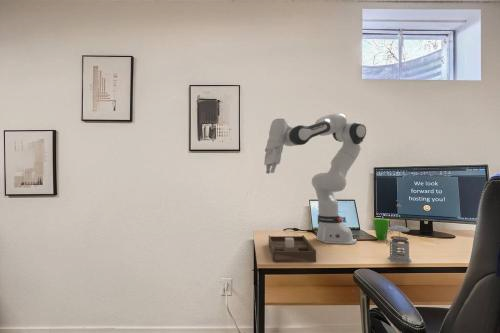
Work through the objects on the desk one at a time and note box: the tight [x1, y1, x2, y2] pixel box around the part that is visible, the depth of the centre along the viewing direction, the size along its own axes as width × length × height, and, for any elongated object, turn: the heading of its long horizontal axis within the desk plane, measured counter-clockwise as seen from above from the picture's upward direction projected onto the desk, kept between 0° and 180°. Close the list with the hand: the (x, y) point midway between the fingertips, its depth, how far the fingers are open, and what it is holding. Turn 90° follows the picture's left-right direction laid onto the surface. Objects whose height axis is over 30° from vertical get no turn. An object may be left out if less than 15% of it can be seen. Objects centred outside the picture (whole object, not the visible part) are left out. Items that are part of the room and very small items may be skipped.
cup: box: [372, 218, 390, 241], centre depth 169 cm, size 9×9×11 cm
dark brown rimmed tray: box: [268, 235, 317, 263], centre depth 142 cm, size 30×19×5 cm, turn 0°
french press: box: [384, 203, 413, 264], centre depth 131 cm, size 10×12×25 cm
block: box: [285, 238, 294, 248], centre depth 144 cm, size 4×4×4 cm
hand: (269, 173), depth 153 cm, fingers open, 8 cm apart
